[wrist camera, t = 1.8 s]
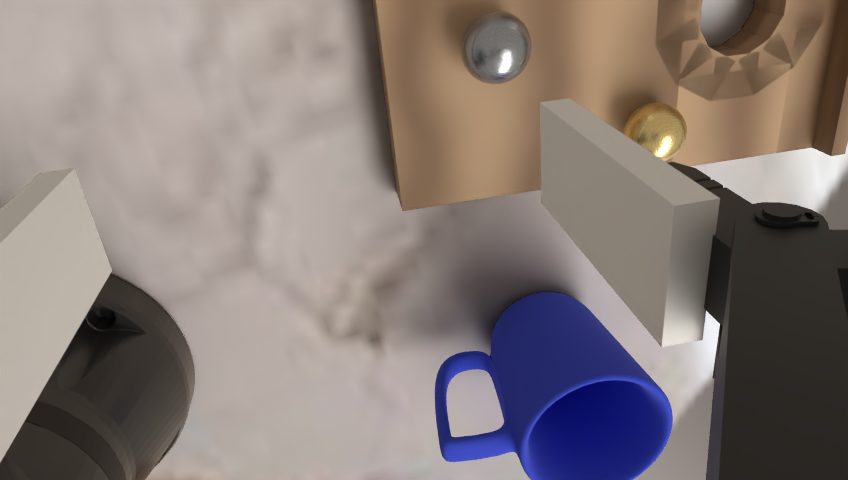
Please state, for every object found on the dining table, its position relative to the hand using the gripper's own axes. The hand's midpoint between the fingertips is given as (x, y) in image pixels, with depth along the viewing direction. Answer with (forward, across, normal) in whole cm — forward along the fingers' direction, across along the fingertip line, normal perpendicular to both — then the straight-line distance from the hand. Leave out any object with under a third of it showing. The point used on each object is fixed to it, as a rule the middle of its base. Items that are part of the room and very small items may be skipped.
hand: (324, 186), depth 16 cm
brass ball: (+14, +16, -5) cm, 22 cm away
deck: (+18, +15, 0) cm, 23 cm away
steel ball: (+14, +8, 0) cm, 16 cm away
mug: (+18, +9, -19) cm, 28 cm away
